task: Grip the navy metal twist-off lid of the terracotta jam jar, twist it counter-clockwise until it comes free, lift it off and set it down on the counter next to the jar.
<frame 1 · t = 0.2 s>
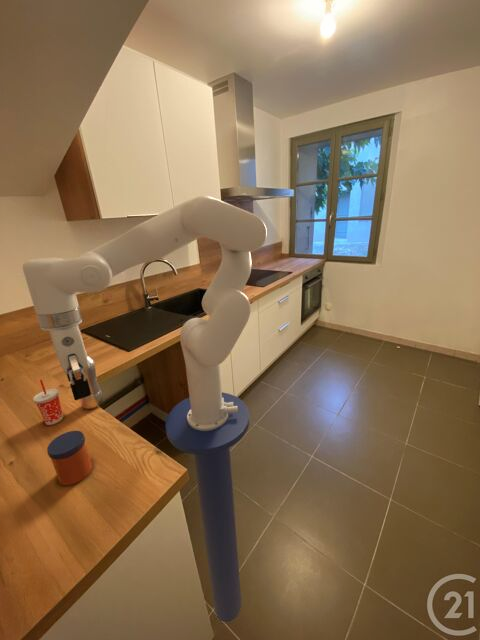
hand: (79, 387, 61), 19 cm above the worktop, tool pointing down, fingers open, 9 cm apart
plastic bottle: (93, 405, 86), on the worktop
jar: (76, 472, 62), on the worktop
lid: (66, 442, 59), point 9 cm above the worktop, screwed on, not yet turned
beverage cup: (54, 420, 80), on the worktop
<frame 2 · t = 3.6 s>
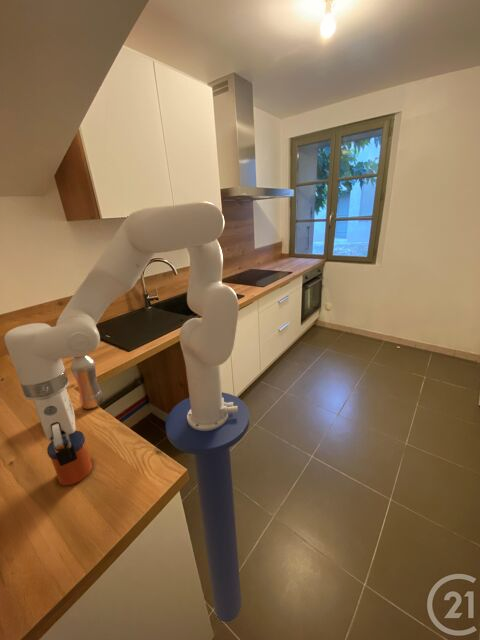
hand: (68, 449, 59), 7 cm above the worktop, tool pointing down, fingers closed on lid, 7 cm apart
lid: (66, 442, 59), point 9 cm above the worktop, screwed on, not yet turned, touching gripper
everything else where it was.
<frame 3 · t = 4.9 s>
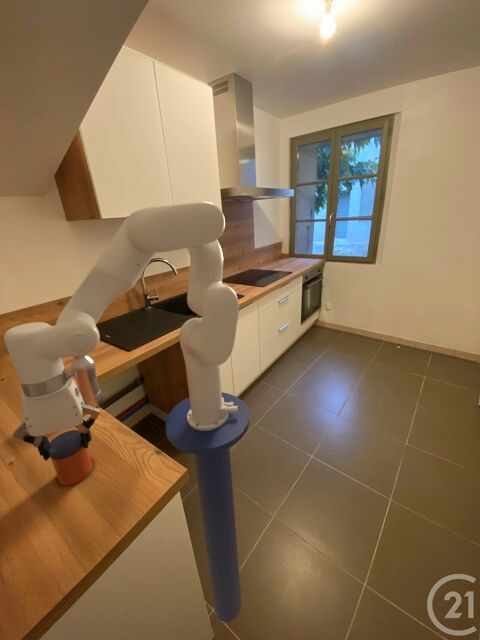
hand: (68, 449, 59), 7 cm above the worktop, tool pointing down, fingers closed on lid, 7 cm apart
lid: (65, 442, 59), point 9 cm above the worktop, turned 79° so far, risen 0.2 cm, still on its thread, touching gripper
everything else where it was.
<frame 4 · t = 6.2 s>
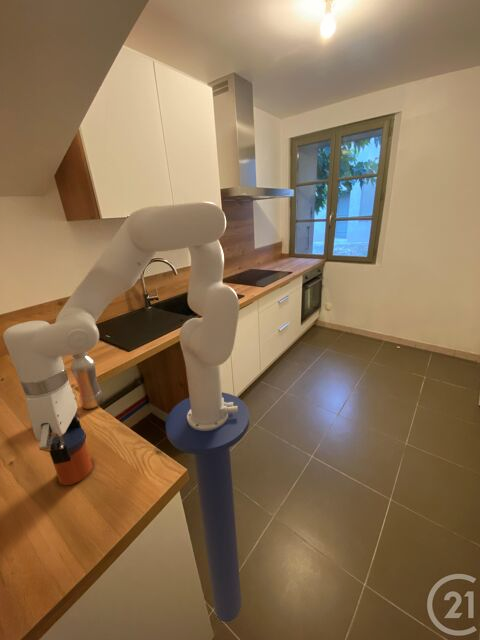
hand: (69, 447, 59), 7 cm above the worktop, tool pointing down, fingers closed on lid, 7 cm apart
jar: (76, 471, 62), on the worktop, touching gripper, lid
lid: (67, 440, 59), point 9 cm above the worktop, off its thread, touching gripper, jar
everything else where it was.
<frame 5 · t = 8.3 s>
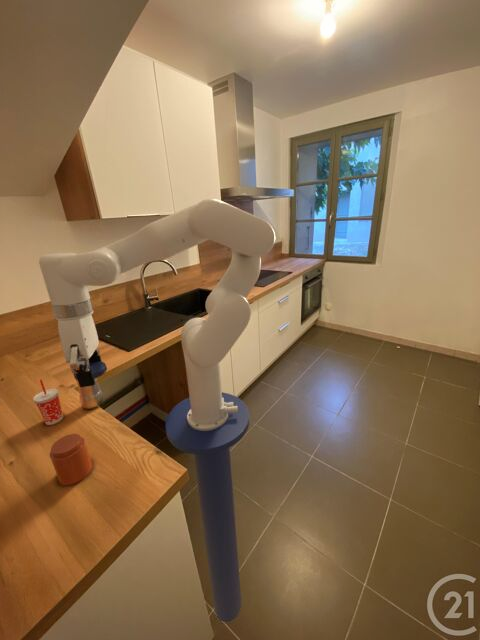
hand: (92, 376, 65), 19 cm above the worktop, tool pointing down, fingers closed on lid, 7 cm apart
jar: (76, 472, 62), on the worktop
lid: (90, 369, 64), point 22 cm above the worktop, off its thread, touching gripper
everything else where it was.
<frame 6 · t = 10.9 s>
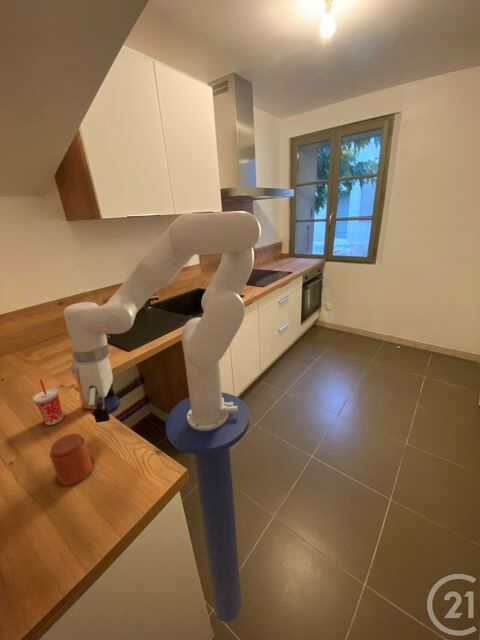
hand: (106, 411, 71), 8 cm above the worktop, tool pointing down, fingers closed on lid, 7 cm apart
lid: (105, 404, 70), point 10 cm above the worktop, off its thread, touching gripper
everything else where it was.
when the fingers open (2 cm above the worktop, at t = 13.2 s): lid drops 3 cm, point 1 cm above the worktop.
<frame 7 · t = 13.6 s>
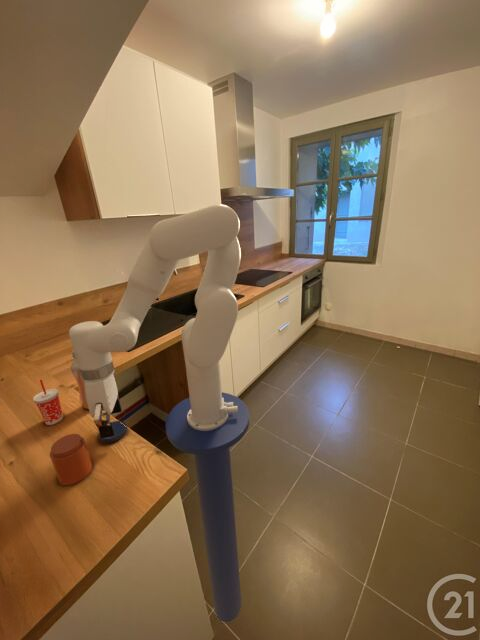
hand: (112, 423, 72), 3 cm above the worktop, tool pointing down, fingers open, 9 cm apart
lid: (113, 430, 73), point 1 cm above the worktop, off its thread
everything else where it was.
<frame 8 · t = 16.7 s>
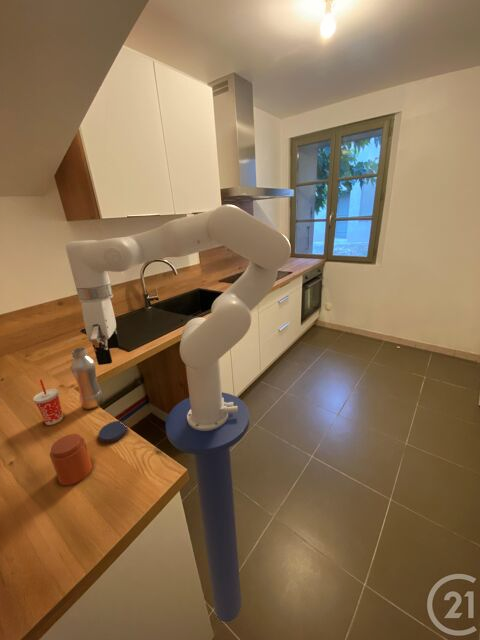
hand: (110, 355, 70), 22 cm above the worktop, tool pointing down, fingers open, 9 cm apart
nothing on the worktop moved.
at the end: lid came off its thread; lid point 1.1 cm above the worktop; the gripper is holding nothing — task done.
